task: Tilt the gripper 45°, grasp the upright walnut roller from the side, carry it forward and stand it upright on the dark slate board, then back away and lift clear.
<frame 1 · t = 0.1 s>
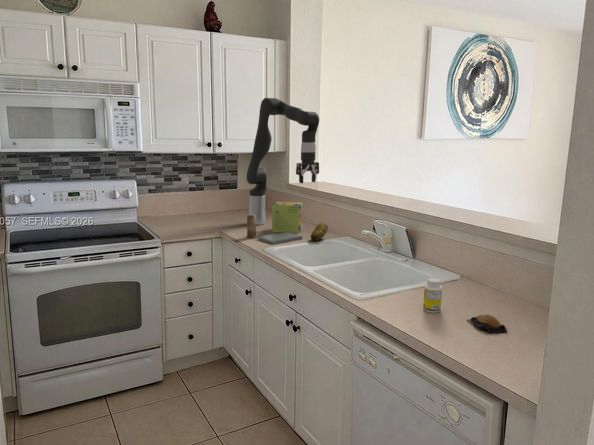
hand: (307, 182, 251), 29 cm above the counter, fingers open, 8 cm apart
slate board: (280, 239, 251), on the counter
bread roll: (486, 328, 144), on the counter
walnut roller: (251, 237, 254), on the counter
protein box: (287, 230, 272), on the counter
potato: (318, 239, 251), on the counter
supplement bottle: (431, 310, 156), on the counter
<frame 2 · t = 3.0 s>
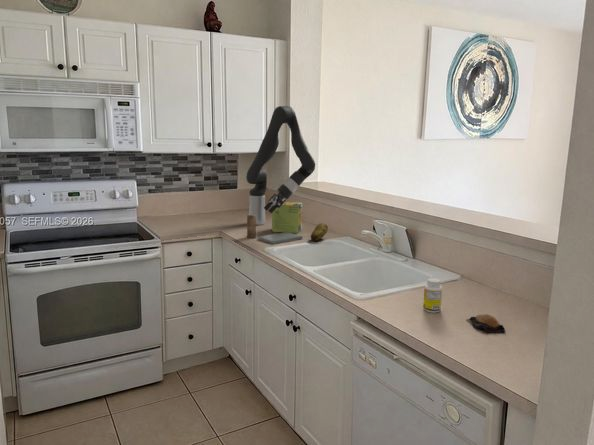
hand: (267, 210, 254), 14 cm above the counter, fingers open, 8 cm apart
nothing on the counter moved.
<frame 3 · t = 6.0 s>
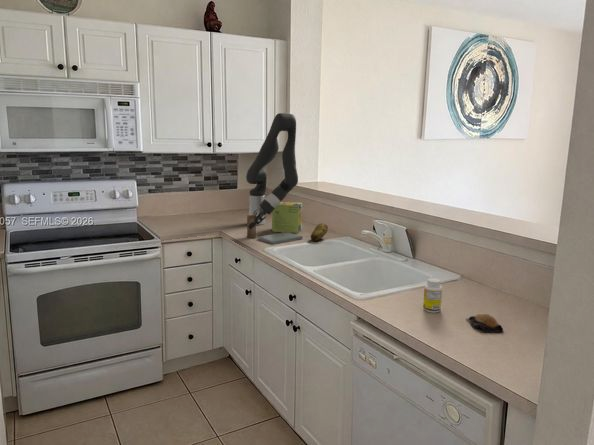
hand: (248, 227, 252), 6 cm above the counter, fingers closed on walnut roller, 4 cm apart
walnut roller: (251, 237, 254), on the counter, touching gripper
everything else where it was.
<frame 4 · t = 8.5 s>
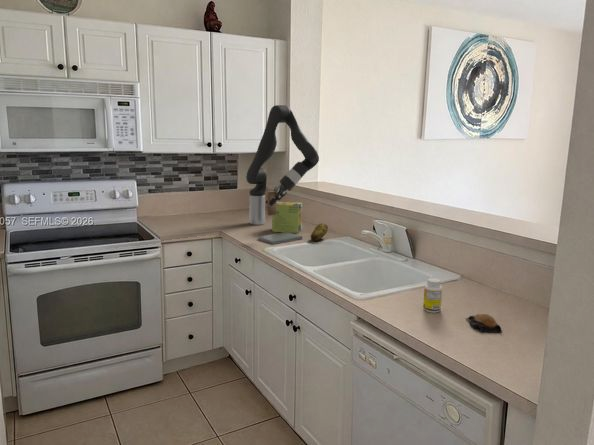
hand: (268, 204, 246), 19 cm above the counter, fingers closed on walnut roller, 4 cm apart
walnut roller: (272, 214, 248), point 13 cm above the counter, touching gripper
everything else where it was.
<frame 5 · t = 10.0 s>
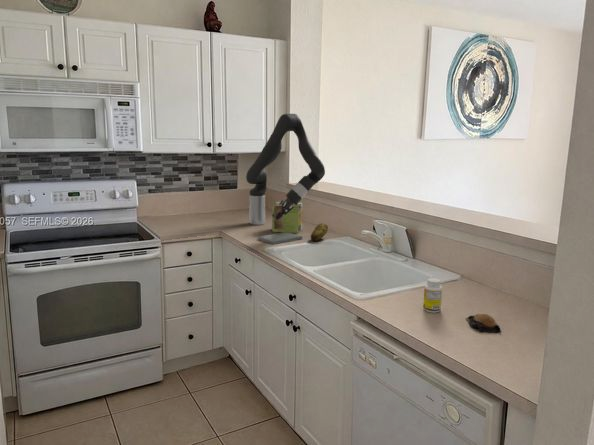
hand: (274, 217, 247), 12 cm above the counter, fingers closed on walnut roller, 4 cm apart
walnut roller: (278, 228, 249), point 6 cm above the counter, touching gripper
when the fingers open (9 cm above the counter, at t = 11.0 s): walnut roller drops 1 cm, resting on slate board.
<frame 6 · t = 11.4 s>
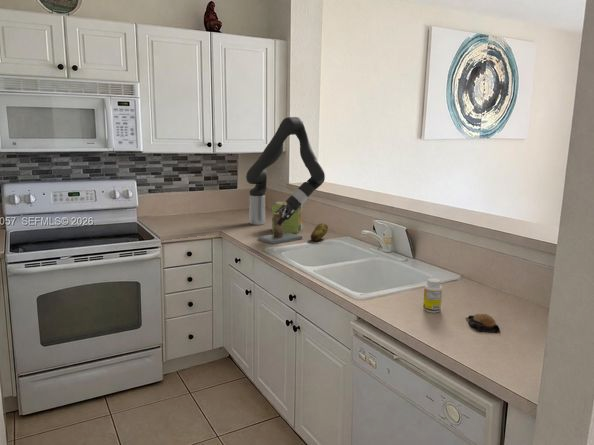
hand: (275, 222, 248), 9 cm above the counter, fingers open, 8 cm apart
walnut roller: (278, 236, 250), point 2 cm above the counter, touching slate board
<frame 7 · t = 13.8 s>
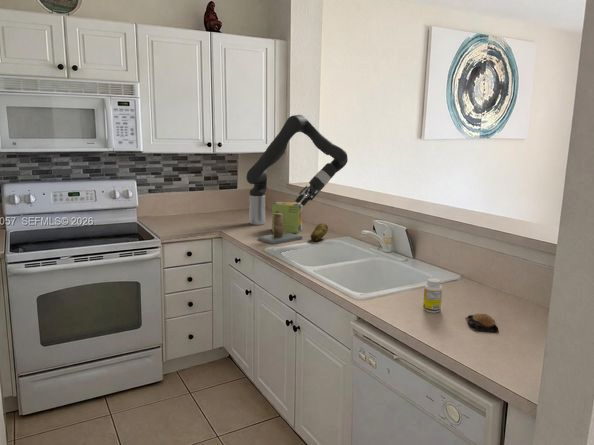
hand: (299, 203, 250), 19 cm above the counter, fingers open, 8 cm apart
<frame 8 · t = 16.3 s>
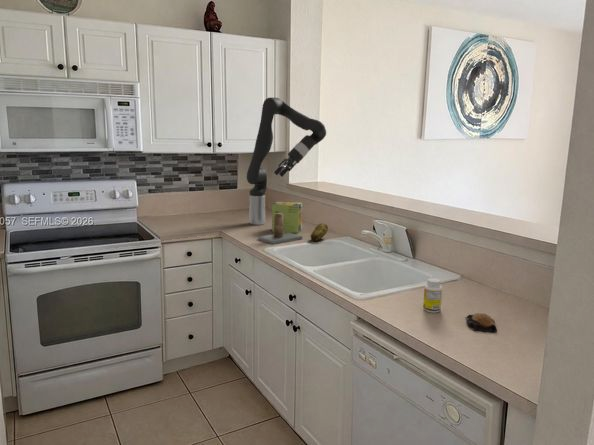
hand: (277, 174, 254), 33 cm above the counter, fingers open, 8 cm apart
at the end: walnut roller inside the target area on the slate board (0.4 cm from its centre), point 1.6 cm above the slate board's base; walnut roller tilted 2°; the gripper is holding nothing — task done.
